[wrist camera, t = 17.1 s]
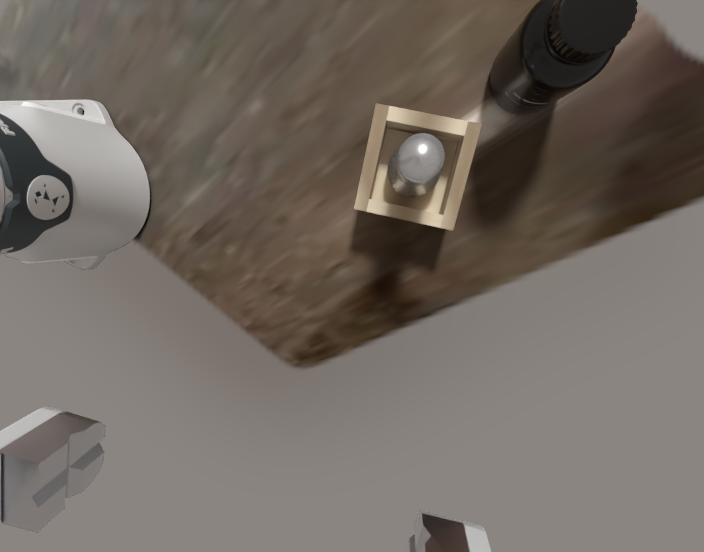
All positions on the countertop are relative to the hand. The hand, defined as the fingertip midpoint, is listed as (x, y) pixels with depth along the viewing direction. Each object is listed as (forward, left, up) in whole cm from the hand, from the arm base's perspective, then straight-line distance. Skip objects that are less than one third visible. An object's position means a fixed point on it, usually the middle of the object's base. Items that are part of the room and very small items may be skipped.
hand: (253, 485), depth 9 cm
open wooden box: (+3, +11, -31) cm, 33 cm away
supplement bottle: (+11, +21, -31) cm, 40 cm away
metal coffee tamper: (+3, +11, -30) cm, 32 cm away
